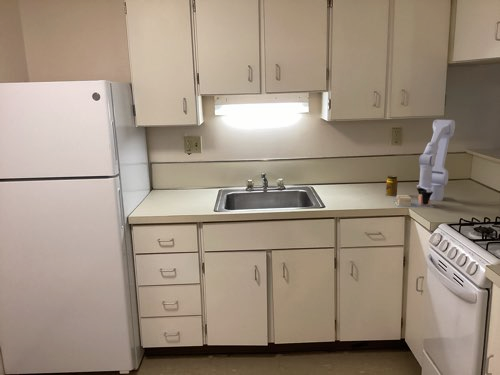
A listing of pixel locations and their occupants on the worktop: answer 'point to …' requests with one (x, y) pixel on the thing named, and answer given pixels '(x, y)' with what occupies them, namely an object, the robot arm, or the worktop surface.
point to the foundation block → (403, 200)
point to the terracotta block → (420, 201)
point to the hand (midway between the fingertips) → (423, 202)
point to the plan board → (412, 204)
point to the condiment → (391, 186)
